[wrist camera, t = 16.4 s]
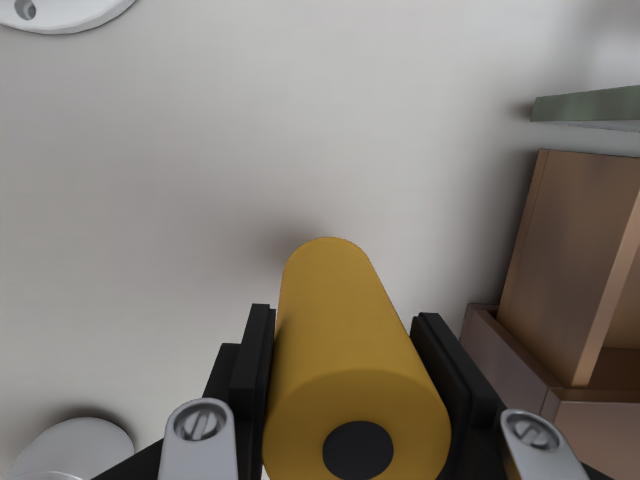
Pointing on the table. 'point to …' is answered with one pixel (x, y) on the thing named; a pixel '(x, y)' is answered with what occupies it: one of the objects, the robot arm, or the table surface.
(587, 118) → the drawer
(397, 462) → the roller
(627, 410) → the cabinet
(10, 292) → the table surface
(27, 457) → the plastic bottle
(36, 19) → the robot arm
